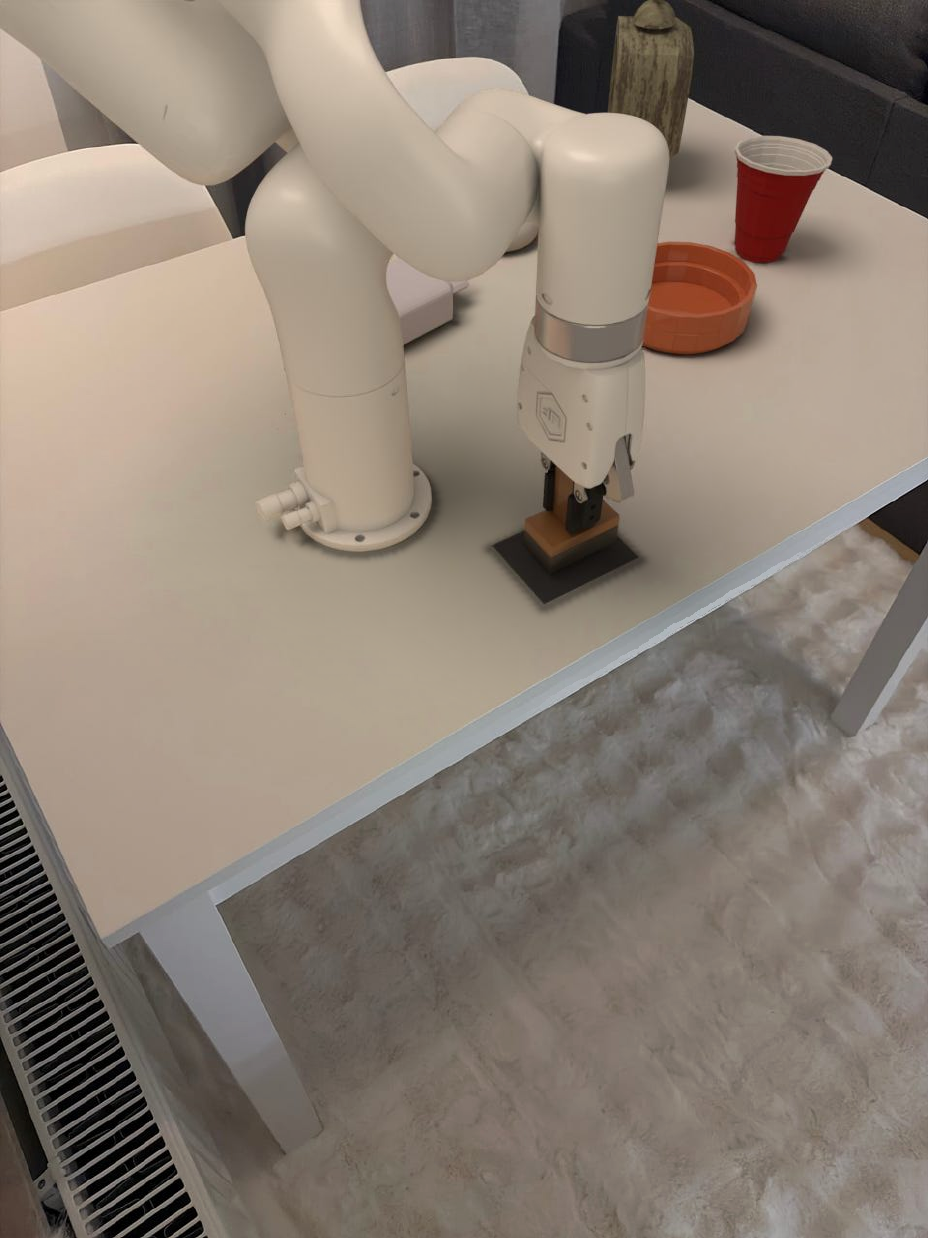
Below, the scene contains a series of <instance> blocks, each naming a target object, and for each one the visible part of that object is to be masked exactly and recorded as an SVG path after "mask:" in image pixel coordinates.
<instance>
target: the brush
mask: <svg viewBox="0 0 928 1238" xmlns="http://www.w3.org/2000/svg"><path fill="white" fill-rule="evenodd" d="M572 493H574V481H573V480H572V479H571V478H569V477H568V476H567V475H566V474H565V473H564V472H563V471H562V470H561V469H560V468H559V467H558V466H556V472H555V488H554V502H553V511H547V510H546V509H544V510H541V511H539V512H538V513H535V514H533V515H531V516H529V517H527V518H525V519H524V529H523V531H524V547H525V548H526V549H527V550H528V551H529V552H530V553H531V554H532V555H533V556H534V557H535V558H536V560H537V561H538V562H539V563H540V564H541V565H542V566H543V567H544V568H545V569H546V570H547V571H548V573H549V574H551V573H553V572H555V571H557V570H559V569H561V568H564V567H566V566H568V565H570V564H572V563H574V562H576V561H578V560H580V559H582V558H584V557H586V556H588V555H590V554H592V553H594V552H596V551H598V550H600V549H602V548H604V547H606V546H608V545H610V544H612V543H614V542H616V539H617V536H618V533H619V532H618V530H619V525H620V516H621V515H620V514H619V513H618V512H617V511H616V510H615V509H614V508H613V507H612V506H611V505H610V504H608V502H606V501H605V499H603V503H602V510H601V518H600V520H599V521H598V522H597V523H595V524H594V525H592V526H590V527H588V528H584V529H582V530H580V531H578V532H576V533H574V534H569V533H568V532H567V531H566V529H565V528H566V527H565V524H566V513H567V502H568V496H569V495H570V494H572Z"/></svg>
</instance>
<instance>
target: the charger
mask: <svg viewBox="0 0 928 1238" xmlns="http://www.w3.org/2000/svg"><path fill="white" fill-rule="evenodd" d="M386 283H387V288H388V291H389V294H390V296H391V298H392V300H393V302H394V304H395V307H396V309H397V312H398V314H399V318H400V322H401V328H402V336H403V346H404V345H406V344H408V343H410V342H412V341H414V340H416V339H418V338H420V337H422V336H423V335H426V334H427V333H429V332H431V331H433V330H435V329H437V328H439V327H441V326H442V325H445V324H447V323H448V322H451V321H452V320H453V318H454V295H455V294H457V293H459V292H461V291H463V290H465V289H467V288H468V287H469V286H470V284H469V282H468V280H465V281H459V282H452V281H443V280H439V279H436V278H433V277H430V276H427V275H426V274H424V273H422V272H420V271H418V270H416V269H414V268H413V267H411V266H410V265H409V264H407V263H406V262H404V261H403V260H402V259H400V258H399V257H398V258H396V259H394V260H392V261H389V263H388V266H387V271H386Z"/></svg>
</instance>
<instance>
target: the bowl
mask: <svg viewBox="0 0 928 1238" xmlns="http://www.w3.org/2000/svg"><path fill="white" fill-rule="evenodd" d="M757 288H758V284H757V279H756V275H755V273H754V271H753V270H752V269H751V268H750V266H749V265H748V264H747V263H746V262H745V261H743V260H742V259H740V258H739V257H737V256H736V255H734V254H733V253H731V252H729V251H727V250H723V249H721V248H718V247H715V246H713V245H708V244H704V243H703V244H702V243H698V242H690V241H663V242H658V244H657V250H656V256H655V263H654V270H653V277H652V284H651V291H650V298H649V305H648V311H647V318H646V325H645V331H644V337H643V344H642V347H646V348H648V349H651V350H654V351H657V352H663V353H669V354H676V355H677V354H678V355H694V354H703V353H707V352H711V351H714V350H717V349H719V348H722V347H724V346H726V345H728V344H730V343H733V342H734V341H735V340H736V339H737V338H738V337H740V336H741V335H742V334H743V333H744V332H745V330H746V327H747V325H748V323H749V319H750V316H751V311H752V308H753V303H754V300H755V297H756V296H755V295H756V292H757Z"/></svg>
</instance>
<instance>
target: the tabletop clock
mask: <svg viewBox="0 0 928 1238" xmlns="http://www.w3.org/2000/svg"><path fill="white" fill-rule="evenodd" d="M616 19H617V20H616V28H615V36H614V37H615V38H614V46H613V54H612V55H613V56H612V65H611V73H610V85H609V93H608V105H607V113H618V114H625V115H631V116H634V117H638V118H641V119H643V120H645V121H647V122H649V123H651V124H652V125H654V126H655V127H656V128H657V129H658V130H660V132H661V133H662V134H663V136H664V138H665V139H666V142H667V145H668V149H669V159H671V158H673V157H675V156H676V155H678V154H679V152H680V148H681V147H680V146H681V142H682V138H683V132H684V125H685V121H686V114H687V107H688V102H689V95H690V90H691V83H692V76H693V69H694V61H695V48H694V38H693V37H694V36H693V33H692V32H693V31H692V28H691V26H689V25H688V24H686V23H685V22H684V21H683V20H681V19H679V18H678V17H676V13H675V11H674V9H673V7H672V6H671V4H670V3H668V2H667V1H665V0H646V1H645V0H644V2H643V3H642V4H641V5H640V6H639V7H638V8H637V10H636V11H635V13H634V14H633V16H630V15H629V16H628V15H627V16H626V15H618V16H617V18H616Z"/></svg>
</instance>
